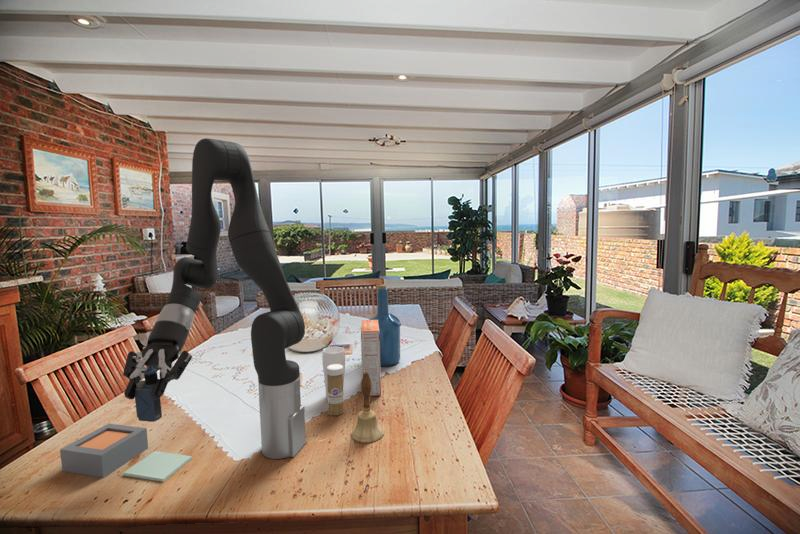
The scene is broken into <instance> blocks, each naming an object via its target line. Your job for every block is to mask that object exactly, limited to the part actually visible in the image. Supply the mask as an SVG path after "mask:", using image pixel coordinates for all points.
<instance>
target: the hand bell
mask: <svg viewBox="0 0 800 534" xmlns="http://www.w3.org/2000/svg"><path fill="white" fill-rule="evenodd" d="M360 390H361V394H362V397H363V399H362V400H363V401H362V402H363V403H362V404H363V405H362V407H363V410H361V411H359V412H358V415H357V422H356V425H355V427H354V428H353V429H351V433H350V437H351V439H352V440H353V441H354V442H355V441H356V442H358V443H362V444H363V443H364V444H368V443H374V442H376V441H378V440H380V439H381V438H382V437H383V436H384V432H385V431H384V429H383V428H382V426H381V425H380V424H379V423H378V420H377V414H376V412H375V411H374V410H372V409H371V405H370V404H371V403H370V402H371V401H370V400H371V399H370V397H371V396H370V393H371V379H370V377H369V373H368V372H364V373H363V377H361V381H360Z"/></svg>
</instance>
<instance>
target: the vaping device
mask: <svg viewBox="0 0 800 534" xmlns="http://www.w3.org/2000/svg"><path fill="white" fill-rule="evenodd" d="M146 368H147V370H145V371H144V378H143V379H144V380H142V381H140V382H137V383H136V388H135V392H136V393H135V392H134V394H135V398H134V400H135V410H136V412H135V413H136V418H138V421H140V422H149V423H150V422H152V423H155V422H157V421H158V420H160V419H161V418H163V413H162V403H161V398H160V399H154V398H152V397H151V393H152V391H153V389H154V386H155V384H156V382H157V379H159V377H158V368H157V369H156V368H153V365H149V366H146Z"/></svg>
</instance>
